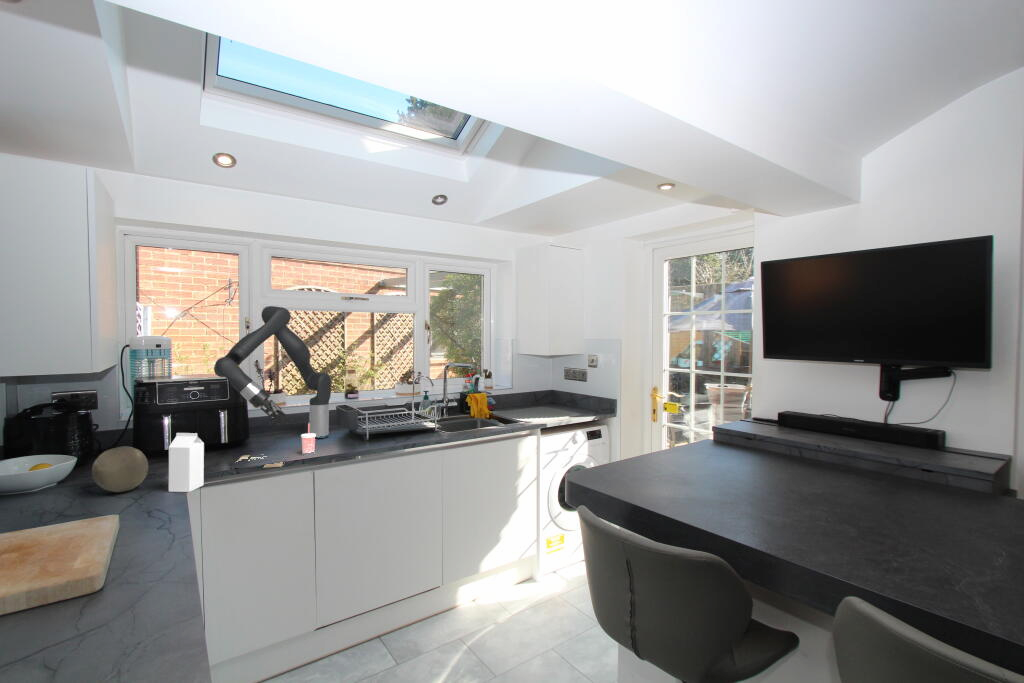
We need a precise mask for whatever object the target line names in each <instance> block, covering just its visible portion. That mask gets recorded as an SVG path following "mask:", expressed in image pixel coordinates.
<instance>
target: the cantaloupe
mask: <svg viewBox="0 0 1024 683" xmlns="http://www.w3.org/2000/svg"><path fill="white" fill-rule="evenodd" d="M148 472H149V460H148V459H147V457H146V455H145V454H144V453H143V451H141V450H140V449H138V448H135V447H133V446H127V445H126V446H125V445H123V446H118V447H114V448H110V449H107V450H105V451H103V452H102V453H101V454H99V455H98V457H97V458H96V459H95V460H94V462H93V464H92V467H91V475H92V479H93V481H94V482H95V483H96V485H97V486H99V487H100V488H102V489H103V490H105V491H107V492H112V493H125V492H129V491H131V490H134V489H135V488H136V487H138V486H139V485H141V483H142V482H143V481H144V480H146V477H147V475H148Z"/></svg>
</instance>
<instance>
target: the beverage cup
mask: <svg viewBox="0 0 1024 683" xmlns="http://www.w3.org/2000/svg"><path fill="white" fill-rule="evenodd" d="M315 437H316V434H315V433H309V422H308V423H307V433H306V432H305V433H302V434H300V438H301V446H302V447H301V448H302V450H301V451H302V454H303V453H311V452H314V453H315V448H316V447H315V446H316V439H315Z"/></svg>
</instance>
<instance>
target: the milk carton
mask: <svg viewBox="0 0 1024 683" xmlns="http://www.w3.org/2000/svg"><path fill="white" fill-rule="evenodd" d="M204 456H205V443H204V441H203V440H202V439H201V438H200V437H199V436H198V433H197V432H195V433H193V432H192V433H191V432H176V434H175V438H174V439H173V440H172V442H171V443H170V444H169V446H168V492H171V493H172V492H173V493H174V492H175V493H190V492H192V491H194V490H196V489H199V488H200V487H201V488H202V487H203V486H204V480H205V477H204V476H205V474H204V472H205V470H204V468H205V463H204V462H205V460H204V459H205V458H204Z"/></svg>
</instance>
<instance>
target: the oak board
mask: <svg viewBox="0 0 1024 683" xmlns="http://www.w3.org/2000/svg"><path fill="white" fill-rule="evenodd" d="M250 455H251V454H249V455H248V454H246V455H245V454H244V455H242V456H240V457H239V459H238V460H237V461H236V462H238V461H241V460H242V459H248V457H249V456H250ZM263 457H267V456H263ZM263 457H262V458H261V457H251V458H250V459H252V460H253V459H254V460H256V458H258V459H259V458H260V459H264V458H263ZM250 459H249V460H248V461H250ZM283 466H284V464H283V462H280V463H274V464H266V465H264V467H263V468H277V467H278V468H279V467H280V468H281V467H283Z"/></svg>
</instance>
